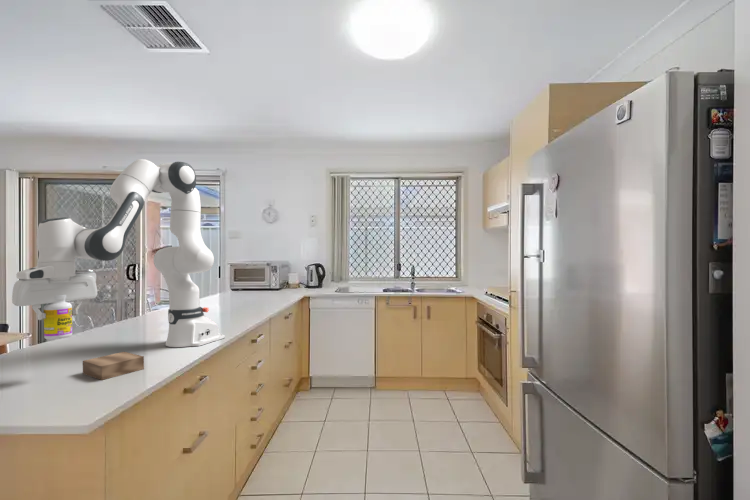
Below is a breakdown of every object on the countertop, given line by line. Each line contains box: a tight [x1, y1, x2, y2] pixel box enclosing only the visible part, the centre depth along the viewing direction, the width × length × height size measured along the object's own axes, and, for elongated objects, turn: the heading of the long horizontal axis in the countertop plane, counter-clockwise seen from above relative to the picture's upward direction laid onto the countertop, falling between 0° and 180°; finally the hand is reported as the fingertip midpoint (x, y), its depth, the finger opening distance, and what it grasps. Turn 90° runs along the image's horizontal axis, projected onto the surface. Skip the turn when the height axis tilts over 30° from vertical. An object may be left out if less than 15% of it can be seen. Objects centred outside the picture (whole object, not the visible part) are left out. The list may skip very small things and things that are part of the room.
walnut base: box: [82, 351, 145, 381], centre depth 123 cm, size 12×12×4 cm
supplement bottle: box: [43, 295, 73, 340], centre depth 119 cm, size 7×7×13 cm
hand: (58, 317), depth 119 cm, fingers closed on supplement bottle, 7 cm apart
